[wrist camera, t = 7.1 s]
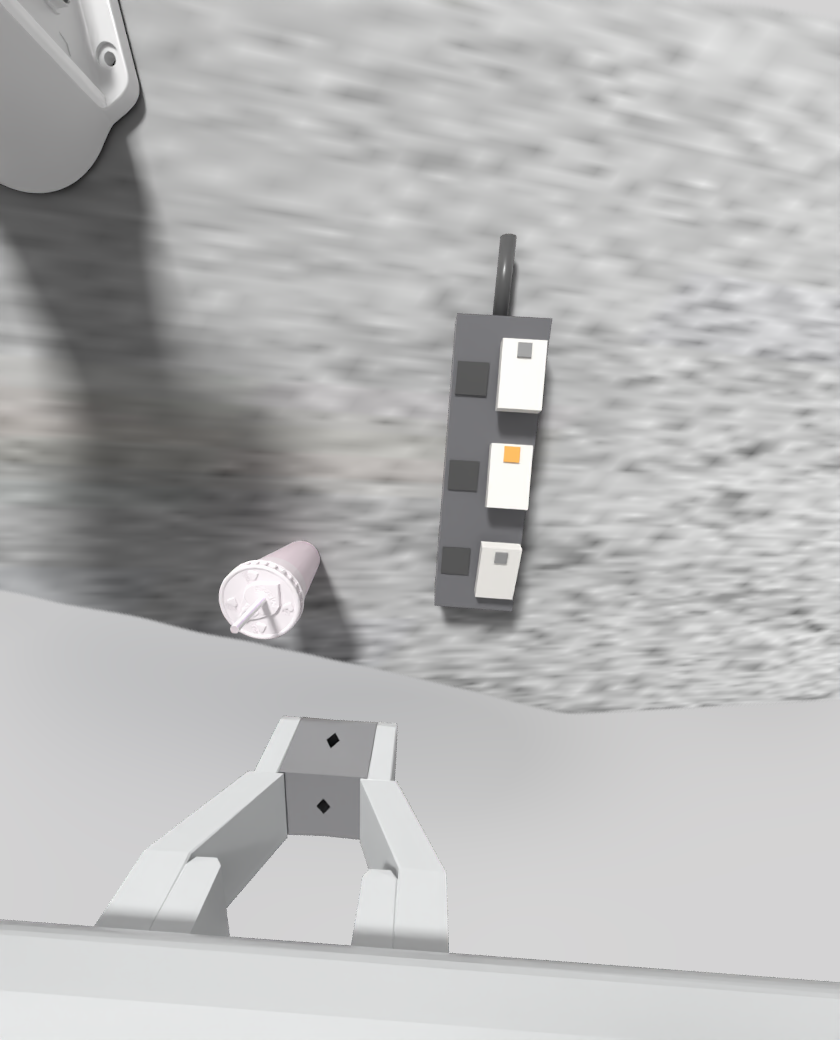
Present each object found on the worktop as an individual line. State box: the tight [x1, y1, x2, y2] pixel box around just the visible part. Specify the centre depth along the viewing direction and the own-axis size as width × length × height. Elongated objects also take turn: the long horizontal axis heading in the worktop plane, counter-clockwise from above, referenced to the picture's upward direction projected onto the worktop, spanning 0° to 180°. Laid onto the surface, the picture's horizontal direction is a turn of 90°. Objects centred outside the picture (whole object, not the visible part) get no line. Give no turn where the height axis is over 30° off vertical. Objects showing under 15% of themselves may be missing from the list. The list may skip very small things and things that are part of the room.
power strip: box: [435, 234, 552, 611], centre depth 33 cm, size 30×7×4 cm, turn 176°
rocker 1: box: [495, 338, 548, 414], centre depth 28 cm, size 5×3×1 cm, turn 177°
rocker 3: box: [474, 541, 522, 600], centre depth 32 cm, size 5×3×1 cm, turn 176°
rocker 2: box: [485, 443, 533, 510], centre depth 30 cm, size 5×3×1 cm, turn 177°
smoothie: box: [219, 541, 320, 639], centre depth 32 cm, size 6×6×14 cm
